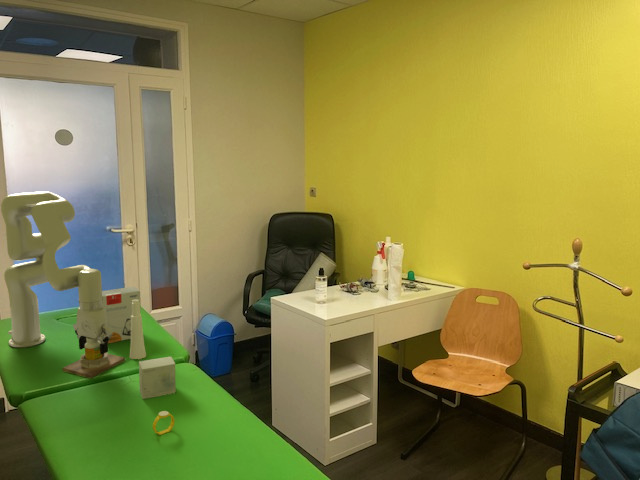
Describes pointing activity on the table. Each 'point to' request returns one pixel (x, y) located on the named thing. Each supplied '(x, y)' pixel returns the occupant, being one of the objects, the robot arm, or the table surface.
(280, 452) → the table surface
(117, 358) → the walnut board
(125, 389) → the table surface
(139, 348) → the cosmetic bottle
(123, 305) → the hard drive box
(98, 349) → the supplement bottle
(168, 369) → the skincare box
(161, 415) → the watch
